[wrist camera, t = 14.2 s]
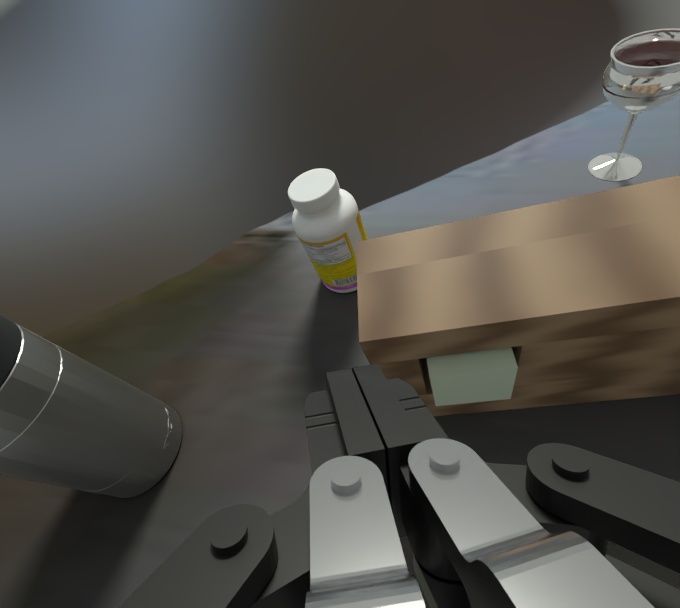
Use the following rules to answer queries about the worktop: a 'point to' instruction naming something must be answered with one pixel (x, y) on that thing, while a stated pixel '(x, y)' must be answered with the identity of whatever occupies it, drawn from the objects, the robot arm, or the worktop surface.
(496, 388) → the button sage
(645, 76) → the wineglass
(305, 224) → the supplement bottle
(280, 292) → the worktop surface
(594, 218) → the panel
